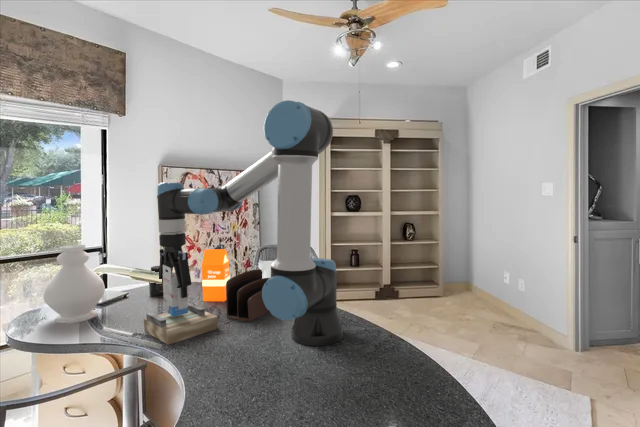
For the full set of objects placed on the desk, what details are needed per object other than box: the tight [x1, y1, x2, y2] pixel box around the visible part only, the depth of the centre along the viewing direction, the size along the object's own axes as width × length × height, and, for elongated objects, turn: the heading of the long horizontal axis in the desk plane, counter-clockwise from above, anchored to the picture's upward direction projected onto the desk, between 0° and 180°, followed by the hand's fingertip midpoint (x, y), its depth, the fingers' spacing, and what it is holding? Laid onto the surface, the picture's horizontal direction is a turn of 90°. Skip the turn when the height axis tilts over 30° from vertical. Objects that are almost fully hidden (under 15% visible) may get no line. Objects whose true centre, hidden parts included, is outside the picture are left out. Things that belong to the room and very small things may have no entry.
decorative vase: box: [43, 244, 106, 325], centre depth 129 cm, size 18×18×25 cm
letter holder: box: [226, 268, 271, 323], centre depth 133 cm, size 10×20×14 cm, turn 152°
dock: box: [143, 302, 219, 346], centre depth 116 cm, size 16×16×6 cm
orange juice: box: [201, 248, 231, 302], centre depth 149 cm, size 8×9×20 cm
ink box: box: [163, 265, 188, 316], centre depth 116 cm, size 8×5×15 cm, turn 39°
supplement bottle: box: [148, 265, 164, 298], centre depth 156 cm, size 7×7×12 cm
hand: (175, 304), depth 116 cm, fingers closed on ink box, 9 cm apart
